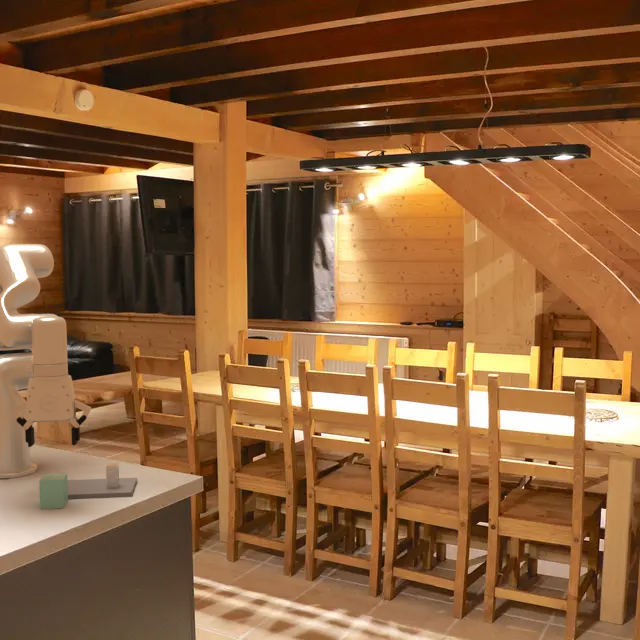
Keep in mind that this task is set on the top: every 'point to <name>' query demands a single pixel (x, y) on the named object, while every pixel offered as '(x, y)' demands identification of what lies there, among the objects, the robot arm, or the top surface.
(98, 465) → the top surface
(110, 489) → the stand board
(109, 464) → the post
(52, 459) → the top surface
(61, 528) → the top surface
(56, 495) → the sage green cube
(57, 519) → the top surface
